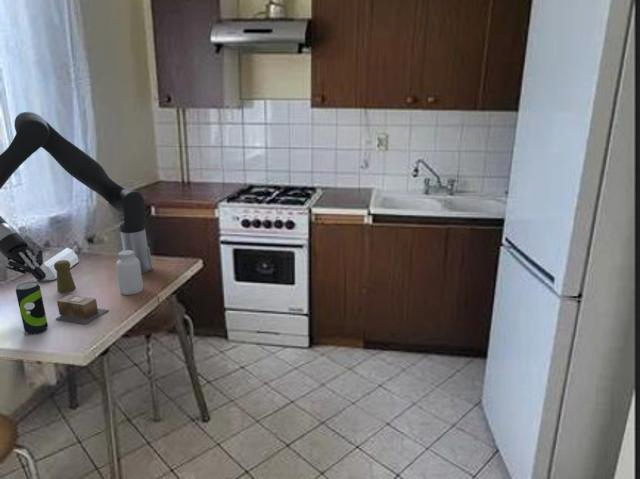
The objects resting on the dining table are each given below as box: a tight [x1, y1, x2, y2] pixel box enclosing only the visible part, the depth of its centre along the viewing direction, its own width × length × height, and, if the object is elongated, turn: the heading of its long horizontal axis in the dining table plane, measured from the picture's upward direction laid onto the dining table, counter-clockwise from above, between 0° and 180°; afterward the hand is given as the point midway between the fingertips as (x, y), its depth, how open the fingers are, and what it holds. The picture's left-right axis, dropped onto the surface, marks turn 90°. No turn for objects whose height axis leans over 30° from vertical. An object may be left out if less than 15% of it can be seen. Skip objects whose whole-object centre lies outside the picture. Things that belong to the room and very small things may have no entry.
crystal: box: [40, 247, 79, 282], centre depth 194 cm, size 7×7×24 cm
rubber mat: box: [55, 308, 109, 326], centre depth 154 cm, size 12×10×1 cm
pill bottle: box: [115, 250, 144, 296], centre depth 171 cm, size 8×8×15 cm
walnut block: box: [56, 294, 99, 319], centre depth 154 cm, size 5×5×11 cm
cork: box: [54, 260, 76, 293], centre depth 174 cm, size 6×6×11 cm
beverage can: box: [15, 280, 49, 335], centre depth 143 cm, size 6×6×15 cm
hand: (42, 278), depth 155 cm, fingers closed
